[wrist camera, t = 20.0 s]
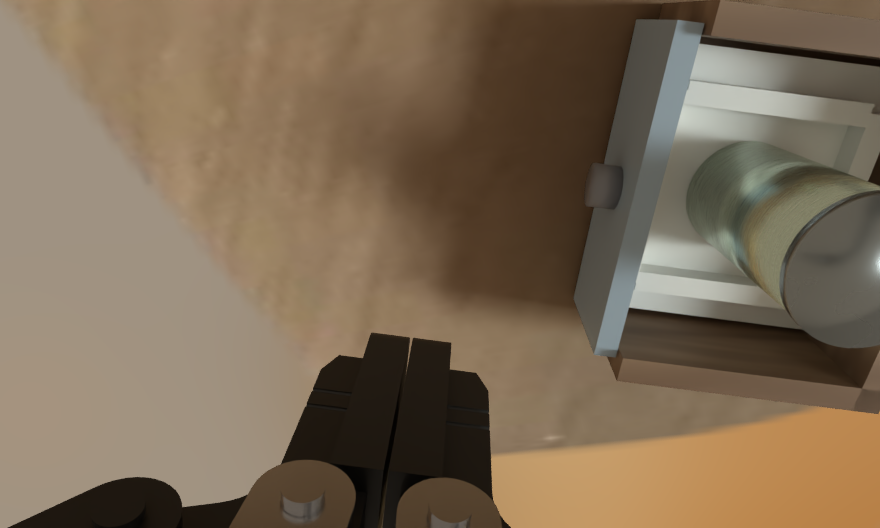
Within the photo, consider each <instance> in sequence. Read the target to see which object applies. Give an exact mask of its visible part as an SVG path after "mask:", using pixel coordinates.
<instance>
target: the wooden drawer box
mask: <svg viewBox="0 0 880 528" xmlns="http://www.w3.org/2000/svg"><path fill="white" fill-rule="evenodd" d="M659 20H683V21H691V22H698V23H705V24H704V28H703V31H702V35H701V39H700V43H699V44H706V45H713V46H721V47H729V48H737V49H744V50H752V51H760V52H768V53H775V54H783V55H791V56H799V57H807V58H814V59H822V60H830V61H838V62H845V63H853V64H861V65H869V66H876V67H880V20H874V19H866V18H858V17H851V16H843V15H835V14H827V13H820V12H812V11H804V10H796V9H789V8H781V7H773V6H765V5H758V4H750V3H742V2H734V1H727V0H709V1H694V2H679V3H664V4H662V7H661V12H660V16H659ZM868 182H871V183H873V184H876V185H879V186H880V153H879V155H878V158H877V160H876V163H875V165H874V168H873V170H872V173H871V175H870V178H869V180H868ZM607 357H608V356H607ZM608 360H609V362H610V365H611V367H612V370H613V372H614V375H615V377H616V380H617V381H622V382H630V383H638V384H646V385H654V386H661V387H669V388H677V389H685V390H693V391H701V392H709V393H717V394H725V395H732V396H740V397H748V398H756V399H764V400H772V401H780V402H788V403H795V404H803V405H811V406H819V407H827V408H835V409H843V410H851V411H859V412H866V413H874V414H878V413H879V411H880V345H877V346H873V347H865V348H843V347H837V346H833V345H829V344H826V343H824V342H821V341H819V340H817V339H815V338H814V337H812V336H811V335H809V334H808V333H807V332H805V331H804V330H802V329H794V328H786V327H778V326H771V325H763V324H755V323H747V322H739V321H731V320H723V319H716V318H708V317H700V316H692V315H684V314H676V313H668V312H661V311H653V310H645V309H637V308H629V309H628V313H627V317H626V320H625V324H624V328H623V332H622V335H621V339H620V343H619V347H618V351H617V354H616V357H608Z"/></svg>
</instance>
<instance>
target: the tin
mask: <svg viewBox="0 0 880 528" xmlns="http://www.w3.org/2000/svg"><path fill="white" fill-rule="evenodd" d="M686 210H687V215H688V218H689V220H690V222H691V225H692V226H693V228H694V229H695V230H696V231H697V232H698V234H699V235H700V236H702V237H703V238H704V239H705V240H706V241H707V242H708V243H710V244H711V245H712V246H713V247H714V248H715V249H716V250H718V251H719V252H720V253H721V254H722V255H723V256H724V257H726V258H727V259H728V260H729V261H730V262H731V263H732V264H734V265H735V266H736V267H737V268H738V269H739V270H740V271H742V272H743V273H744V274H745V275H746V276H747V277H748V278H750V279H751V280H752V281H753V282H754V283H755V284H756V285H758V286H759V287H760V288H761V289H762V290H763V291H764V292H766V293H767V294H768V295H769V296H770V297H771V298H772V299H774V300H775V301H776V302H777V303H778V304H779V305H780V306H782V307H783V308H784V309H785V310H786V311H787V312H788V314H789V315H790V317H791V318H792V319H793V320H794V321H795V322H796V324H797V325H799V326H800V327H801V328H802V329H803V330H804V331H805V332H807V333H808V334H809V335H811V336H812V337H814V338H815V339H817V340H819V341H821V342H824V343H826V344H829V345H833V346H837V347H843V348H865V347H873V346H877V345H880V186H879V185H876V184H873V183H871V182H868V181H865V180H863V179H860V178H858V177H855V176H852V175H850V174H847V173H844V172H842V171H839V170H836V169H834V168H831V167H829V166H826V165H823V164H821V163H818V162H815V161H813V160H810V159H807V158H805V157H802V156H800V155H797V154H794V153H792V152H789V151H786V150H784V149H781V148H778V147H776V146H773V145H771V144H768V143H764V142H758V141H744V142H738V143H734V144H731V145H728V146H726V147H724V148H722V149H720V150H718V151H716V152H715V153H714V154H712V155H711V156H710V157H708V158H707V159H706V160H705V161H704V162H703V163H702V164H701V165H700V166H699V168H698V169H697V171H696V172H695V174H694V175H693V177H692V179H691V181H690V184H689V187H688V190H687V196H686Z"/></svg>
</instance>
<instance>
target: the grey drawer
mask: <svg viewBox="0 0 880 528" xmlns="http://www.w3.org/2000/svg"><path fill="white" fill-rule="evenodd" d="M704 24H705V23H698V22H691V21H683V20H656V19H636V23H635V28H634V32H633V37H632V41H631V46H630V50H629V55H628V59H627V63H626V68H625V72H624V77H623V81H622V86H621V90H620V94H619V99H618V103H617V108H616V112H615V117H614V121H613V125H612V130H611V134H610V139H609V143H608V148H607V152H606V156H605V161H604V164H601V163H592V165H591V166H590V169H589V171H588V175H587V179H586V184H585V193H584V200H585V205H586V206H588V207H594V210H593V214H592V218H591V223H590V227H589V232H588V236H587V241H586V245H585V250H584V254H583V258H582V263H581V267H580V272H579V276H578V281H577V285H576V289H575V294H574V298H573V299H574V301H575V304H576V307H577V310H578V312H579V315H580V318H581V321H582V323H583V326H584V329H585V331H586V334H587V337H588V340H589V342H590V345H591V348H592V350H593V353H594V355H600V356H608V357H616V354H617V351H618V347H619V343H620V339H621V335H622V332H623V328H624V324H625V320H626V317H627V313H628V309H629V308H637V309H645V310H653V311H661V312H668V313H676V314H684V315H692V316H700V317H708V318H716V319H723V320H731V321H739V322H747V323H755V324H763V325H771V326H778V327H786V328H794V329H802V328H801V327H800V326H799V325H797V324H796V322H795V321H794V320H793V319H792V318H791V317H790V315H789V314H788V312H787V311H786V310H785V309H784V308H783V307H782V306H780V305H779V304H778V303H777V302H776V301H775V300H774V299H772V298H771V297H770V296H769V295H768V294H767V293H766V292H764V291H763V290H762V289H761V288H760V287H759V286H758V285H756V284H755V283H754V282H753V281H752V280H751V279H750V278H748V277H747V276H746V275H745V274H744V273H743V272H742V271H740V270H739V269H738V268H737V267H736V266H735V265H734V264H732V263H731V262H730V261H729V260H728V259H727V258H726V257H724V256H723V255H722V254H721V253H720V252H719V251H718V250H716V249H715V248H714V247H713V246H712V245H711V244H710V243H708V242H707V241H706V240H705V239H704V238H703V237H702V236H700V235H699V234H698V232H697V231H696V230H695V229H694V228H693V226H692V225H691V222H690V220H689V218H688V215H687V210H686V196H687V190H688V187H689V184H690V181H691V179H692V177H693V175H694V174H695V172H696V171H697V169H698V168H699V166H700V165H701V164H702V163H703V162H704V161H705V160H706V159H707V158H708V157H710V156H711V155H712V154H714V153H715V152H716V151H718V150H720V149H722V148H724V147H726V146H728V145H731V144H734V143H738V142H744V141H758V142H764V143H768V144H771V145H773V146H776V147H778V148H781V149H784V150H786V151H789V152H792V153H794V154H797V155H800V156H802V157H805V158H807V159H810V160H813V161H815V162H818V163H821V164H823V165H826V166H829V167H831V168H834V169H836V170H839V171H842V172H844V173H847V174H850V175H852V176H855V177H858V178H860V179H863V180H865V181H868V180H869V178H870V175H871V173H872V170H873V168H874V165H875V163H876V160H877V158H878V155H879V153H880V67H876V66H869V65H861V64H853V63H845V62H838V61H830V60H822V59H814V58H807V57H799V56H791V55H783V54H775V53H768V52H760V51H752V50H744V49H737V48H729V47H721V46H713V45H706V44H699V43H700V39H701V35H702V31H703V28H704ZM802 330H803V329H802Z"/></svg>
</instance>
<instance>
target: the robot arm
mask: <svg viewBox="0 0 880 528" xmlns="http://www.w3.org/2000/svg"><path fill="white" fill-rule="evenodd" d="M409 343H410V338H409V337H402V336H394V335H387V334H379V333H371V335H370V338H369V341H368V344H367V347H366V350H365V354H364V357H363V358H357V357H349V356H341V355H339V356H337V357H336V358H335V359H334V360H332V361H331V362H330V363H329V364H327V365H326V366H325V367H323V368H322V369H321V371H320V373H319V376H318V378H317V380H316V383H315V385H314V387H313V391H312V392H311V395H310V397H309V399H308V402H307V406H306V407H305V409H304V411H303V413H302V416H301V418H300V420H299V423H298V425H297V428H296V430H295V432H294V435H293V437H292V440H291V442H290V444H289V446H288V449H287V451H286V454H285V456H284V458H283V461H282V463H281V465H278V466H276V467H274V468H272V469H270V470H268V471H267V472H266V473H264V474H263V475H262V476H261V477H260V478H259V479H258V480H257V481H256V482H255V484H254V485H253V487H252V488H251V490H250V492H249V494H248V495H246V496H244V497H241V498H238V499H234V500H231V501H226V502H220V503H214V504H206V505H198V506H190V507H182V502H181V499H180V496H179V495H178V493H177V492H176V490H174V489H173V488H172V487H171V486H170V485H168V484H166V483H165V482H162V481H159V480H156V479H152V478H144V477H142V478H141V477H133V478H125V479H119V480H115V481H111V482H108V483H105V484H102V485H100V486H97V487H95V488H93V489H91V490H88V491H86V492H84V493H82V494H80V495H78V496H75V497H73V498H71V499H69V500H67V501H64V502H62V503H60V504H58V505H56V506H54V507H52V508H49V509H47V510H45V511H43V512H41V513H39V514H37V515H34V516H32V517H30V518H28V519H26V520H23V521H21V522H19V523H17V524H15V525H13V526H11V527H8V528H511V527H510V526H509V525H508V524H507V523H506V522H505V521H504V520H503V518H502V517H501V516H500V514H499V511H498V509H497V507H496V505H495V504H494V501H493V496H492V477H491V451H490V431H489V427H490V425H489V398H488V390H487V388H486V387H485V385H484V384H483V382H482V381H481V379H480V378H479V376H478V375H477V373H472V372H465V371H457V370H450V355H451V343H449V342H441V341H433V340H426V339H418V338H413V341H412V346H411V352H410V357H409V362H408V368H407V361H408V353H409ZM406 370H407V373H406Z"/></svg>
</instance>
